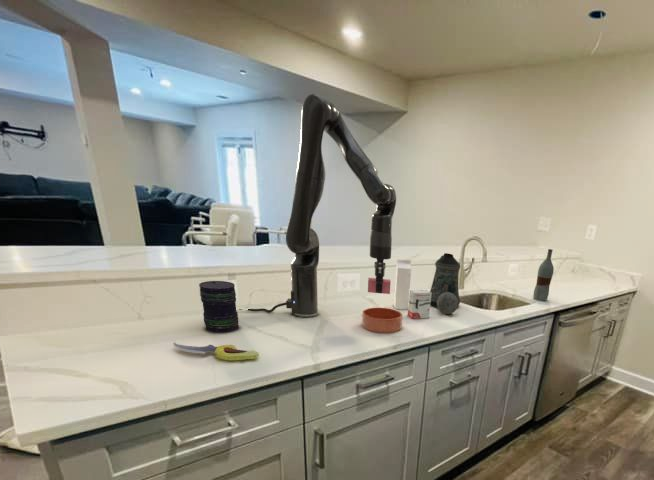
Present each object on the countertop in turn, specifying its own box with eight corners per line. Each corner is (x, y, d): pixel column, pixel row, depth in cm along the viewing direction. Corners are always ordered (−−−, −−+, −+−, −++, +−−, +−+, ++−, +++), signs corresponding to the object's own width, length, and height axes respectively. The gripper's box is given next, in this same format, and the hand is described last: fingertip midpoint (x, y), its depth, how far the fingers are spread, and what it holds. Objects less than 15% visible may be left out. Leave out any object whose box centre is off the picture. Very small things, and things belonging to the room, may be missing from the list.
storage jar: (243, 330, 129) (239, 287, 124) (210, 335, 123) (204, 289, 117) (233, 321, 135) (228, 280, 130) (200, 325, 128) (194, 281, 123)
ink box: (412, 319, 165) (414, 292, 161) (407, 315, 169) (409, 289, 164) (429, 318, 170) (432, 292, 165) (424, 314, 174) (426, 289, 169)
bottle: (548, 302, 231) (559, 251, 219) (533, 300, 230) (544, 249, 219) (545, 298, 239) (556, 249, 228) (531, 296, 239) (541, 247, 227)
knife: (159, 354, 106) (251, 365, 107) (158, 345, 105) (250, 356, 106) (179, 344, 114) (264, 354, 115) (177, 336, 112) (263, 346, 114)
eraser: (367, 292, 141) (368, 280, 139) (368, 289, 144) (368, 277, 142) (389, 294, 142) (390, 282, 141) (389, 291, 146) (390, 279, 144)
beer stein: (442, 311, 183) (448, 258, 173) (416, 300, 194) (420, 250, 184) (466, 307, 194) (472, 257, 185) (439, 297, 206) (444, 250, 196)
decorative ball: (457, 312, 185) (459, 291, 181) (456, 317, 175) (458, 296, 171) (436, 309, 184) (439, 288, 181) (434, 315, 175) (436, 293, 171)
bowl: (361, 332, 143) (361, 318, 141) (362, 319, 156) (363, 306, 154) (402, 334, 146) (403, 320, 144) (400, 321, 160) (401, 309, 158)
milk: (408, 309, 178) (412, 261, 169) (394, 308, 176) (398, 260, 167) (406, 305, 183) (410, 259, 174) (393, 305, 181) (396, 258, 172)
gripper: (370, 240, 142) (369, 286, 149) (369, 246, 129) (368, 295, 136) (391, 242, 144) (388, 287, 150) (392, 248, 131) (389, 297, 138)
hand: (378, 291), depth 143 cm, fingers closed on eraser, 4 cm apart
